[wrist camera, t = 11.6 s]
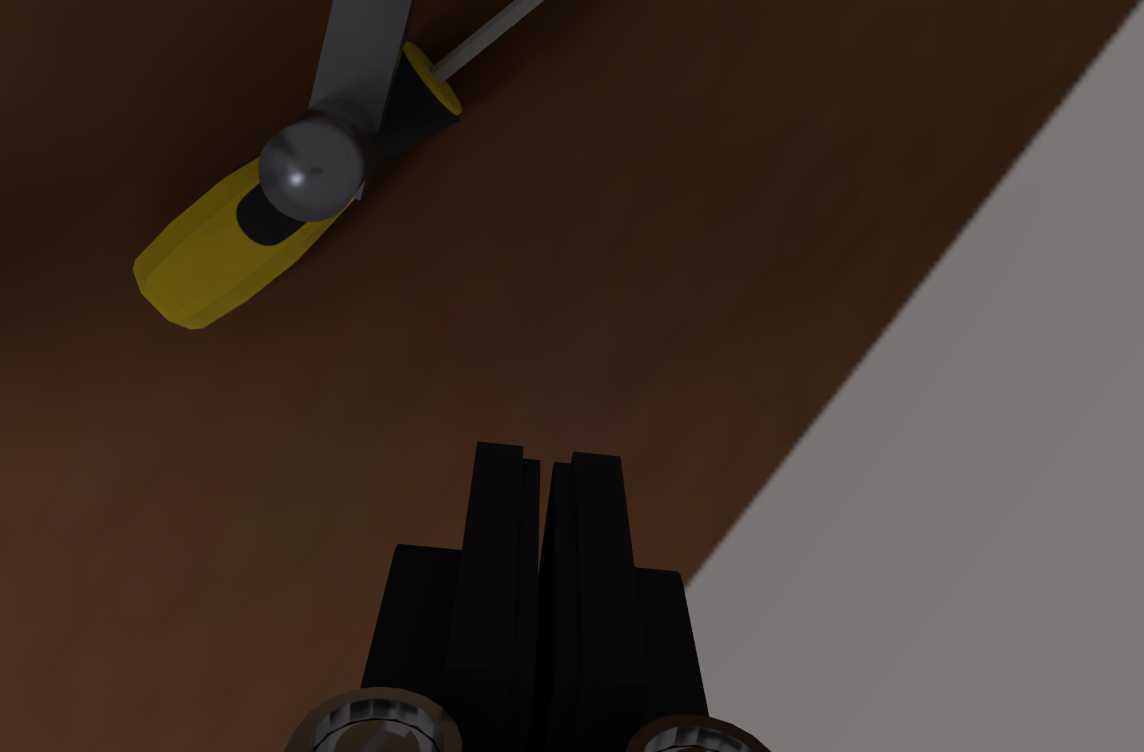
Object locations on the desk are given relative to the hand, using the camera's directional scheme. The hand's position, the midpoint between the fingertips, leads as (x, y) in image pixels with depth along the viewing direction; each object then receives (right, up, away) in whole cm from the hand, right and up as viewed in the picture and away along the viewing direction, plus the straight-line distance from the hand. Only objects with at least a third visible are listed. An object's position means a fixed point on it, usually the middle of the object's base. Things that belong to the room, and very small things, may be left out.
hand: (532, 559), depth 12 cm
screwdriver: (-2, +14, +22) cm, 26 cm away
